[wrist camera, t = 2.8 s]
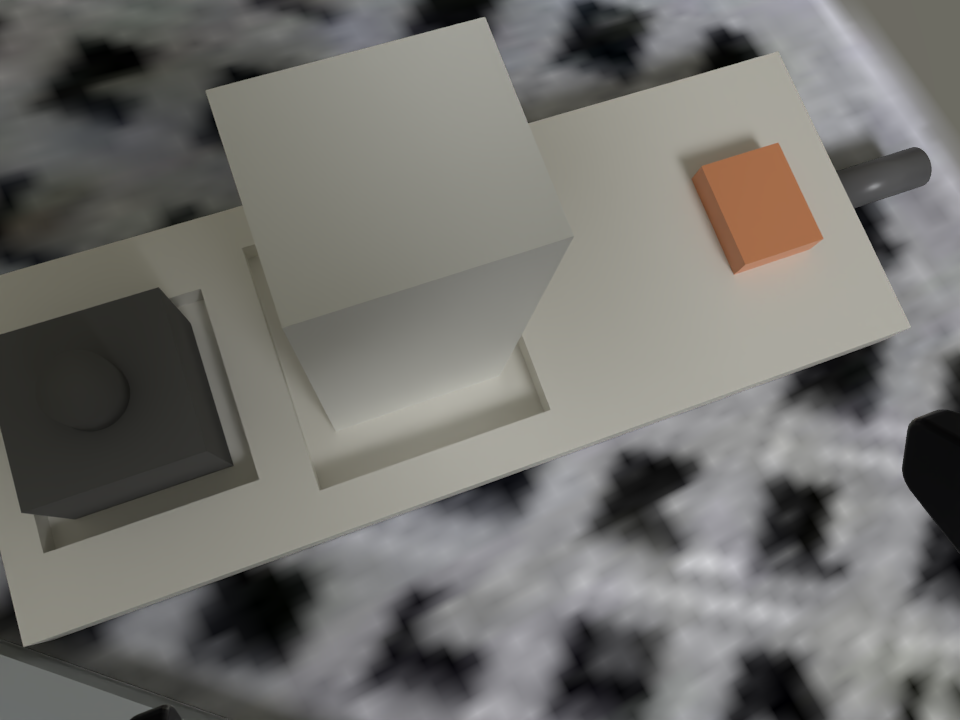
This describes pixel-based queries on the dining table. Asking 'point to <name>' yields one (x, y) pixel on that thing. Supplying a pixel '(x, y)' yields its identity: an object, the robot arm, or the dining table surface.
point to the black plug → (106, 407)
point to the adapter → (395, 215)
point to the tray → (72, 691)
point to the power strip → (532, 365)
